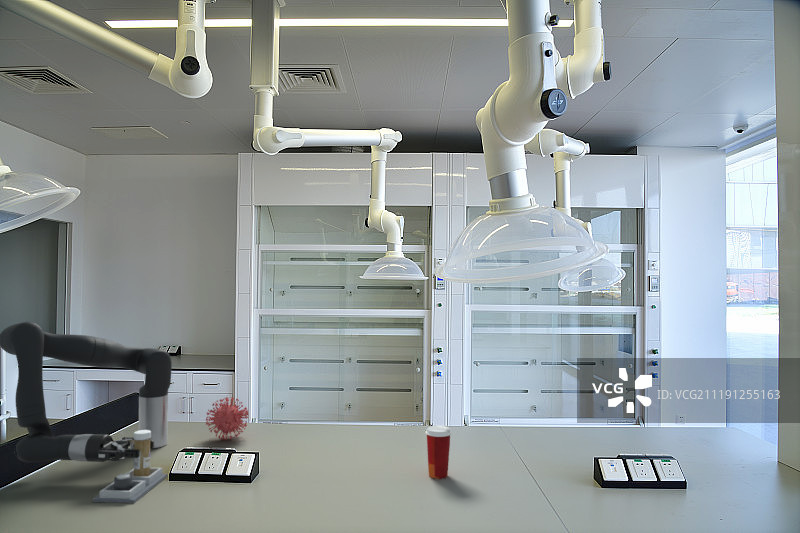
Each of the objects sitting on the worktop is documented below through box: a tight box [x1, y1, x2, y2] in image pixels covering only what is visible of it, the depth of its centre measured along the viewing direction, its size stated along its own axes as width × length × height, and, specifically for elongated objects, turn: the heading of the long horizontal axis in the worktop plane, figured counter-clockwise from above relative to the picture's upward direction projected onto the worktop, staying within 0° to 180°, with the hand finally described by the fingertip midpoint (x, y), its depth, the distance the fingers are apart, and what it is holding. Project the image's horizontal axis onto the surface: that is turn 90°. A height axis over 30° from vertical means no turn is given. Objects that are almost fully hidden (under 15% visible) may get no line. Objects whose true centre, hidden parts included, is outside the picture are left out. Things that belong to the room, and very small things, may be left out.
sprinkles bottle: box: [133, 429, 151, 477], centre depth 164 cm, size 5×5×14 cm
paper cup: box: [424, 425, 452, 480], centre depth 171 cm, size 8×8×14 cm
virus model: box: [205, 396, 250, 440], centre depth 207 cm, size 15×15×15 cm
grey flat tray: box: [92, 466, 168, 504], centre depth 158 cm, size 19×11×5 cm, turn 178°
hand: (146, 448), depth 164 cm, fingers open, 8 cm apart
